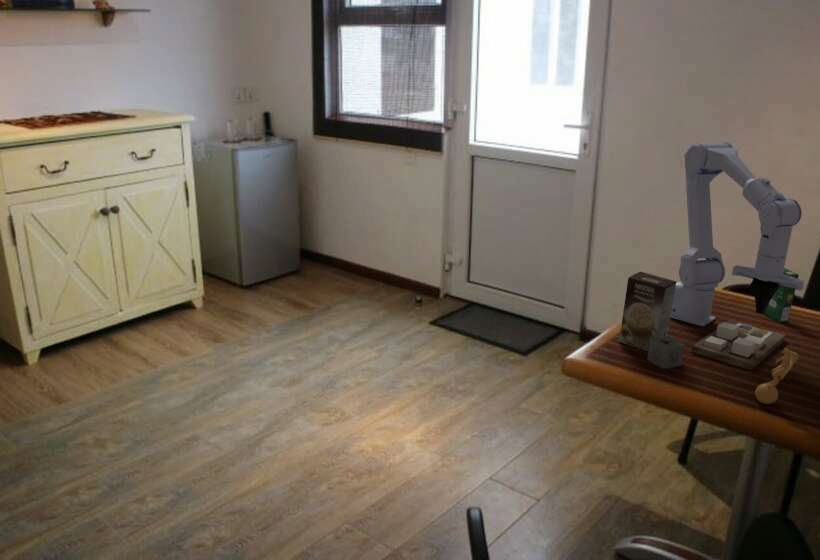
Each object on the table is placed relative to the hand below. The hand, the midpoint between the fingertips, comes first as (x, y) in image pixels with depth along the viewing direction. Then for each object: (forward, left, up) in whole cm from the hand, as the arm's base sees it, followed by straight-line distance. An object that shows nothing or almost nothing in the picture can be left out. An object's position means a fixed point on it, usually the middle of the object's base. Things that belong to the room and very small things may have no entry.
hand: (760, 312), depth 163 cm
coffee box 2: (-4, +27, -10) cm, 29 cm away
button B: (0, 0, -9) cm, 9 cm away
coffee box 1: (-20, -15, -10) cm, 27 cm away
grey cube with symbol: (-12, -21, -10) cm, 26 cm away
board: (-3, 0, -9) cm, 10 cm away
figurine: (+11, -24, -10) cm, 29 cm away
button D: (0, -7, -8) cm, 11 cm away
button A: (-6, 0, -8) cm, 10 cm away
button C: (-6, -7, -9) cm, 13 cm away
